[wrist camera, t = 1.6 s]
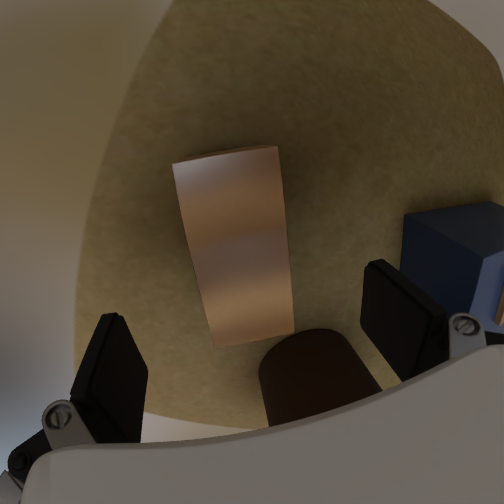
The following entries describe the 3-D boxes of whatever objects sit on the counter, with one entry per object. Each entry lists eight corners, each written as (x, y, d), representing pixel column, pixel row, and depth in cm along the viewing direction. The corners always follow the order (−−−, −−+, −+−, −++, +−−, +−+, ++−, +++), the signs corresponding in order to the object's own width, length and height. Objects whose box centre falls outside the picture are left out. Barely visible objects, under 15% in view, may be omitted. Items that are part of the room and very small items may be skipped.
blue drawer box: (494, 200, 22) (553, 226, 14) (474, 303, 28) (516, 340, 20) (404, 214, 21) (483, 258, 12) (387, 341, 26) (431, 400, 18)
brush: (180, 156, 17) (170, 163, 12) (259, 143, 17) (278, 145, 12) (212, 304, 21) (215, 348, 16) (276, 292, 21) (295, 332, 17)
